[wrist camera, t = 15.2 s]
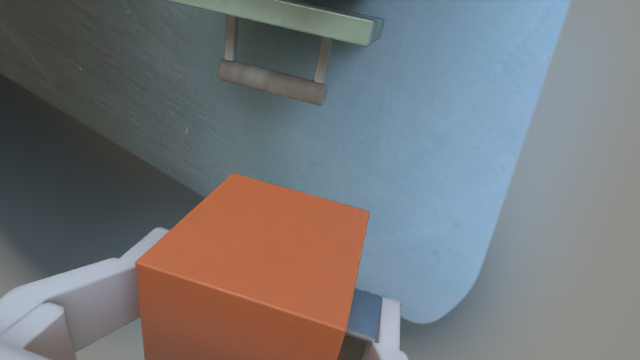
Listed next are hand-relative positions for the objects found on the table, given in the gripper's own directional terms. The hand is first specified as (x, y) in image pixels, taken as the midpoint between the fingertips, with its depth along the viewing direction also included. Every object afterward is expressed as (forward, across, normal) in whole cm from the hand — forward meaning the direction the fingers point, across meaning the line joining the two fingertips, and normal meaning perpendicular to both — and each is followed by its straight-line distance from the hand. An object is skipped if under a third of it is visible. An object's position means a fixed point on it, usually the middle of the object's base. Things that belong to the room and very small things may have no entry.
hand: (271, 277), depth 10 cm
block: (+2, 0, 0) cm, 2 cm away
